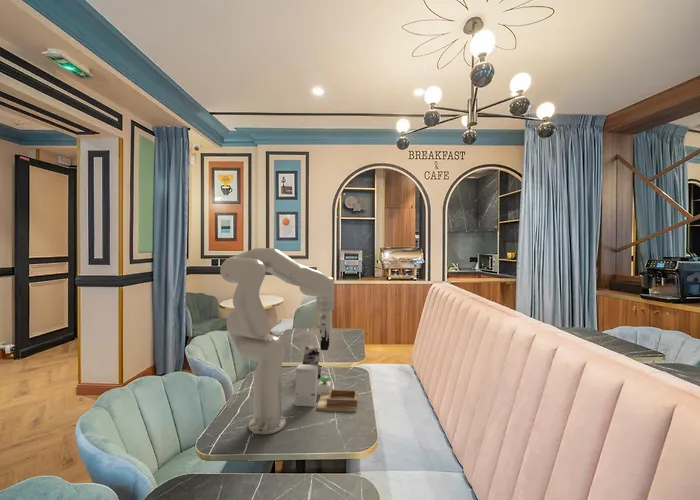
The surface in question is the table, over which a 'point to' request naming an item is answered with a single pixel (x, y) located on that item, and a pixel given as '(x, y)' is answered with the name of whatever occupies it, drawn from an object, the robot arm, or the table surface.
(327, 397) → the wooden display tray
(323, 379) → the button
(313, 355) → the figurine
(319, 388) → the console
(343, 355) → the table surface
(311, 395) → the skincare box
